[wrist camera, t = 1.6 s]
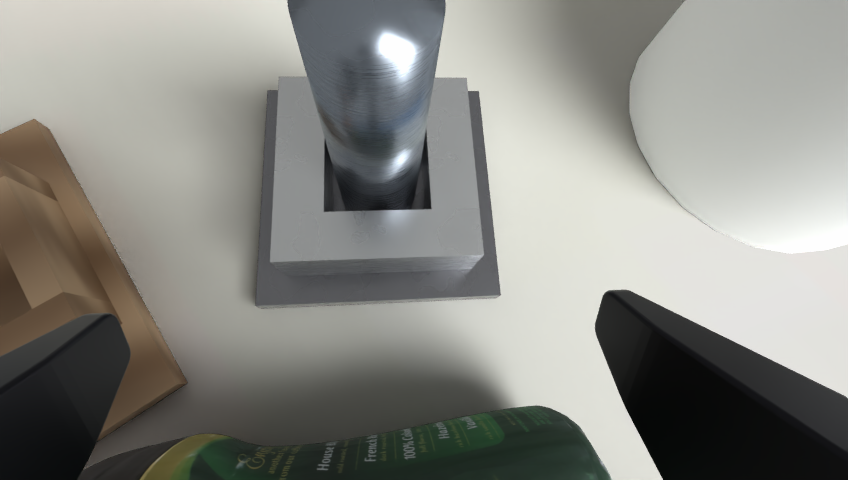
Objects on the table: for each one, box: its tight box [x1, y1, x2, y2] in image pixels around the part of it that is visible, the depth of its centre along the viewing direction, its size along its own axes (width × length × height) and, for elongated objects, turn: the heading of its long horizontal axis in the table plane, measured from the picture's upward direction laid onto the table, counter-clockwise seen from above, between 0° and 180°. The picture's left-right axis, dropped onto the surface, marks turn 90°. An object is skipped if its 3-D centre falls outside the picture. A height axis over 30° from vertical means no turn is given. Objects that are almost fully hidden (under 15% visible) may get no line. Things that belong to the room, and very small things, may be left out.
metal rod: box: [288, 0, 446, 211], centre depth 16 cm, size 4×4×12 cm
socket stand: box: [256, 77, 501, 309], centre depth 21 cm, size 12×12×4 cm
